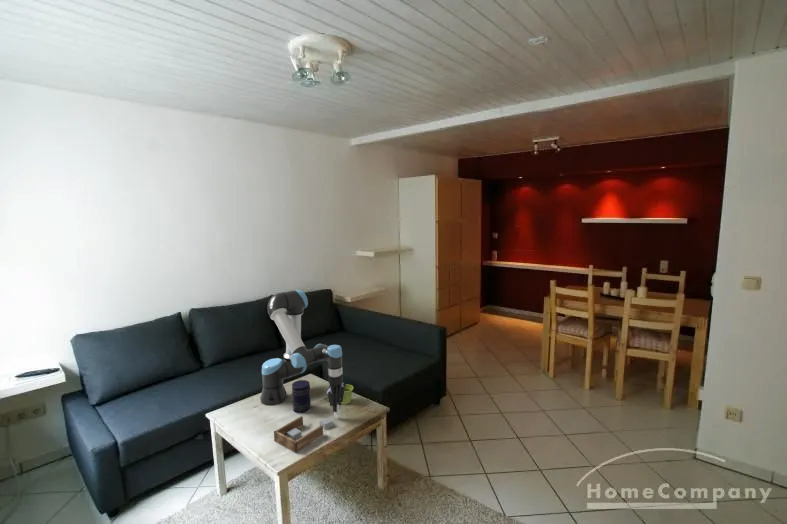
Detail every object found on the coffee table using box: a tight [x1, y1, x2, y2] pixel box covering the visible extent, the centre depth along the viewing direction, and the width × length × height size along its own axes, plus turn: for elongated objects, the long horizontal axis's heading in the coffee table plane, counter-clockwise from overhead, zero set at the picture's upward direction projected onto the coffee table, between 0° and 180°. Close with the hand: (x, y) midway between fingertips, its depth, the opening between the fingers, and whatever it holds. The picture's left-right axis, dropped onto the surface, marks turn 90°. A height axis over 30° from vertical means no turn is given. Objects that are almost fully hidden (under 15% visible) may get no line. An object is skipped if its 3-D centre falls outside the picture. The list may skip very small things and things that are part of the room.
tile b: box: [319, 416, 334, 430], centre depth 194 cm, size 5×5×3 cm
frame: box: [273, 415, 324, 454], centre depth 183 cm, size 16×17×5 cm
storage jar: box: [291, 379, 311, 414], centre depth 210 cm, size 10×10×15 cm
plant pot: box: [341, 383, 354, 405], centre depth 218 cm, size 9×9×9 cm
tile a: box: [286, 428, 302, 441], centre depth 184 cm, size 5×5×3 cm
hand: (336, 416), depth 200 cm, fingers closed
